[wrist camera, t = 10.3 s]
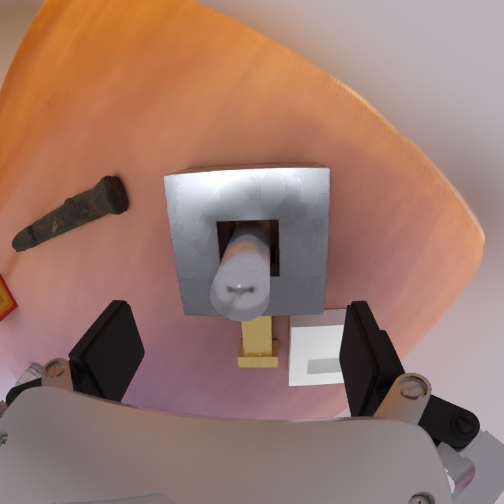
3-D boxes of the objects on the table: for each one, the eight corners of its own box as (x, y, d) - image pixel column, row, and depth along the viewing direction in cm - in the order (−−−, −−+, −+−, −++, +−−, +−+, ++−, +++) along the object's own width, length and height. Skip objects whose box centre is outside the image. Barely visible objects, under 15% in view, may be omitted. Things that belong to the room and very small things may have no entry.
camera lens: (50, 370, 39) (30, 396, 32) (57, 389, 42) (40, 414, 35) (28, 357, 39) (8, 381, 32) (36, 377, 42) (18, 400, 34)
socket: (314, 281, 29) (323, 314, 23) (199, 283, 30) (184, 315, 24) (316, 162, 24) (329, 168, 19) (186, 168, 25) (163, 175, 20)
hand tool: (122, 171, 26) (98, 177, 22) (133, 207, 27) (111, 219, 23) (23, 219, 29) (0, 229, 24) (32, 246, 30) (10, 258, 26)
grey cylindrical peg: (270, 242, 27) (270, 321, 15) (237, 243, 28) (213, 321, 16) (269, 210, 26) (268, 269, 14) (235, 211, 27) (206, 270, 14)
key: (277, 350, 32) (278, 367, 29) (241, 350, 33) (238, 367, 30) (277, 251, 28) (277, 263, 25) (232, 252, 28) (228, 264, 25)
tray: (356, 364, 33) (361, 380, 30) (288, 369, 33) (288, 385, 31) (368, 307, 29) (376, 322, 27) (289, 311, 30) (291, 327, 27)
